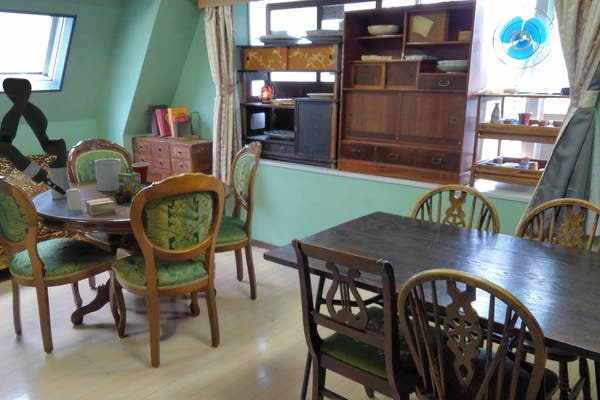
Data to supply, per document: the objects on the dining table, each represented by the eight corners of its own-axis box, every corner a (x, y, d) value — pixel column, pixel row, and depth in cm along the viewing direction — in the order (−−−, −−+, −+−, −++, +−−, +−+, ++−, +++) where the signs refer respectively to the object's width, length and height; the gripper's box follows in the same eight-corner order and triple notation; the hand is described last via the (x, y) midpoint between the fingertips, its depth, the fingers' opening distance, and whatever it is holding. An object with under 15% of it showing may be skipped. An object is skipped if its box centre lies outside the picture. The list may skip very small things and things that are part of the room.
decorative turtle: (122, 205, 261) (120, 190, 259) (109, 203, 271) (106, 188, 269) (139, 201, 268) (137, 186, 266) (125, 199, 278) (123, 184, 276)
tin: (68, 208, 255) (65, 189, 253) (79, 207, 258) (77, 187, 256) (70, 211, 251) (68, 191, 248) (82, 209, 254) (80, 189, 251)
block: (86, 210, 252) (85, 200, 250) (109, 207, 258) (108, 197, 256) (91, 215, 243) (90, 205, 242) (115, 211, 249) (114, 201, 248)
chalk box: (118, 194, 288) (116, 168, 284) (129, 190, 296) (127, 166, 292) (131, 195, 284) (129, 169, 281) (142, 192, 293) (140, 167, 289)
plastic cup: (129, 183, 317) (127, 164, 314) (139, 180, 327) (137, 162, 324) (143, 184, 314) (142, 165, 311) (153, 181, 324) (152, 162, 321)
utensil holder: (128, 188, 303) (125, 159, 299) (107, 192, 291) (104, 162, 287) (112, 185, 311) (110, 157, 307) (91, 189, 299) (88, 160, 295)
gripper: (42, 168, 236) (71, 189, 245) (37, 164, 247) (65, 184, 256) (31, 180, 234) (60, 201, 243) (27, 176, 245) (55, 195, 254)
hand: (63, 192), depth 250 cm, fingers open, 8 cm apart
